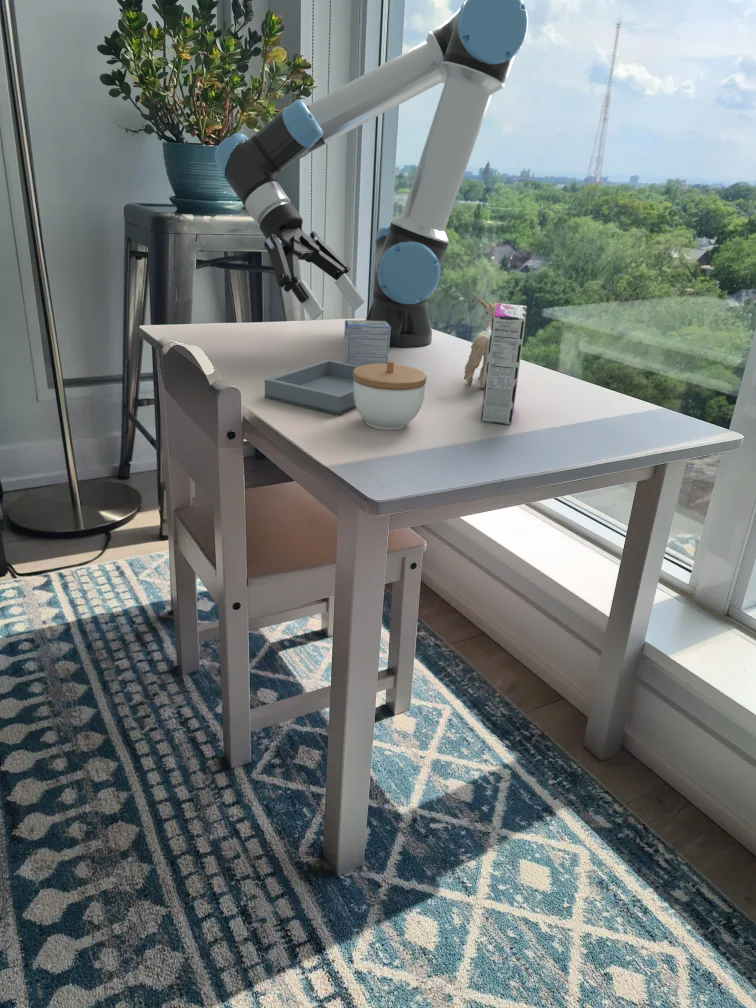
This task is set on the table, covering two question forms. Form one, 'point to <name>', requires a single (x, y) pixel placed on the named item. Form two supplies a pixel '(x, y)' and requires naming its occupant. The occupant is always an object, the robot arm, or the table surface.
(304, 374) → the slate tray
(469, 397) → the table surface
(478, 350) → the unicorn figurine
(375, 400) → the lidded jar
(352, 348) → the medicine box
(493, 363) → the candy bar box
